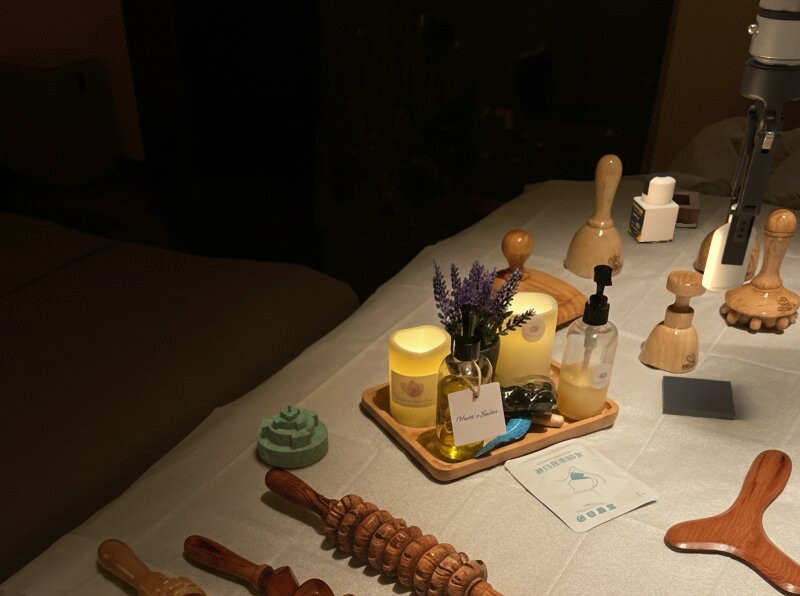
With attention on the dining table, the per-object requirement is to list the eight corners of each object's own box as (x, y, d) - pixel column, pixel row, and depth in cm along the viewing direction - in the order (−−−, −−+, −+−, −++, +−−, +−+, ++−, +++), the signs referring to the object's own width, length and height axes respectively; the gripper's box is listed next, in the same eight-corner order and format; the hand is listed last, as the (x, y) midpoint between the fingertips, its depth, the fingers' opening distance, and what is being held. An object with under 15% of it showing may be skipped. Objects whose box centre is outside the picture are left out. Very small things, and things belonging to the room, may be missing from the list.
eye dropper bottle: (744, 293, 119) (769, 202, 111) (701, 291, 120) (723, 199, 112) (741, 281, 122) (765, 191, 114) (700, 278, 123) (720, 189, 115)
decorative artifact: (343, 447, 124) (297, 422, 130) (340, 403, 119) (293, 379, 125) (289, 476, 119) (244, 449, 124) (285, 432, 114) (238, 405, 120)
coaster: (729, 387, 134) (730, 381, 133) (733, 420, 127) (735, 414, 126) (662, 381, 136) (663, 375, 135) (662, 413, 129) (663, 407, 128)
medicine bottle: (627, 231, 184) (637, 171, 176) (660, 229, 185) (671, 169, 177) (638, 243, 179) (649, 182, 171) (672, 241, 179) (685, 179, 171)
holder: (694, 211, 193) (698, 192, 190) (696, 228, 185) (700, 208, 182) (642, 208, 195) (646, 189, 192) (642, 225, 187) (646, 206, 184)
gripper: (741, 43, 110) (699, 232, 125) (752, 73, 97) (704, 280, 113) (805, 44, 108) (754, 235, 124) (825, 75, 96) (765, 284, 111)
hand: (730, 256), depth 118 cm, fingers closed on eye dropper bottle, 4 cm apart
